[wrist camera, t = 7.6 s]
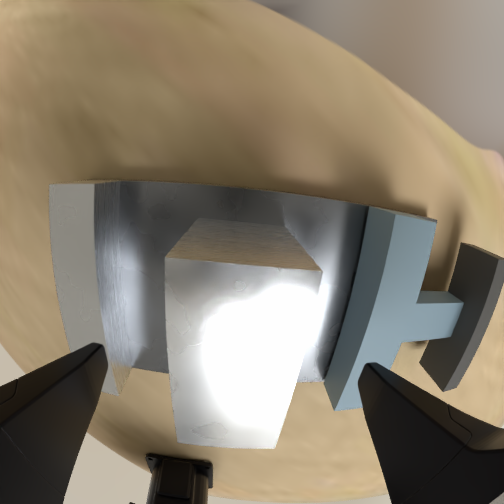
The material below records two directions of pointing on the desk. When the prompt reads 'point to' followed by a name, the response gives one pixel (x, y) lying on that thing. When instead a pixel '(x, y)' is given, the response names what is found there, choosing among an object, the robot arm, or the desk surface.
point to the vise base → (159, 245)
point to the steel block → (236, 330)
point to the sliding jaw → (411, 306)
